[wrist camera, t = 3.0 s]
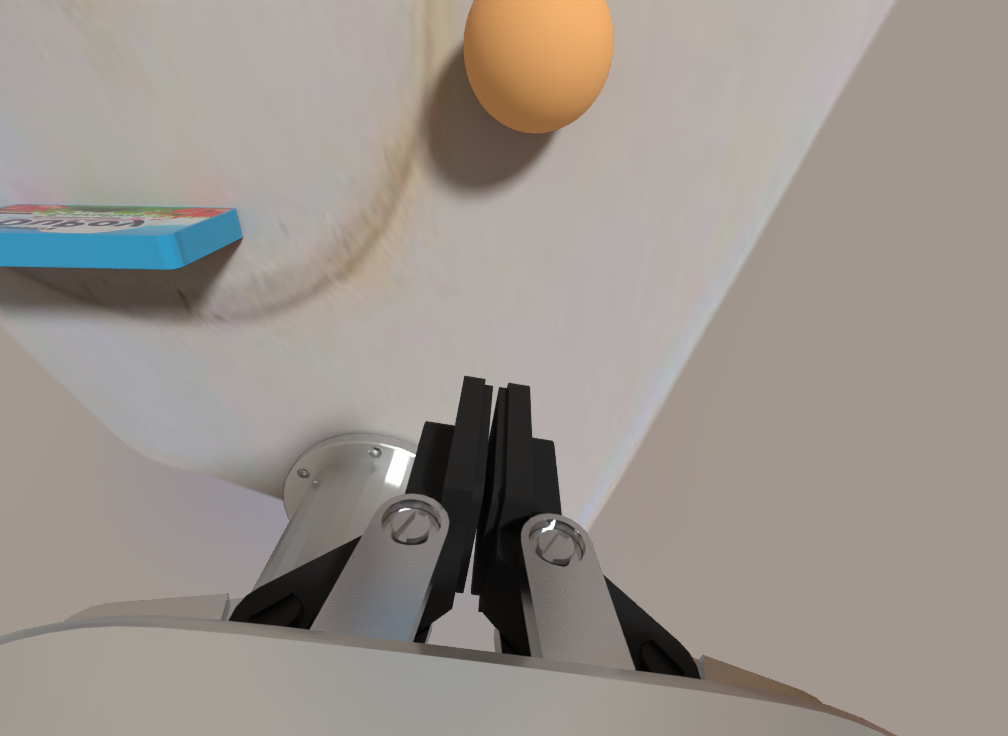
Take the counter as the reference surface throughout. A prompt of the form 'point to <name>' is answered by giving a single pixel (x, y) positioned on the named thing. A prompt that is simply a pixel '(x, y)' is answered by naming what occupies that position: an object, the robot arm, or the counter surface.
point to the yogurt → (112, 235)
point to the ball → (538, 59)
